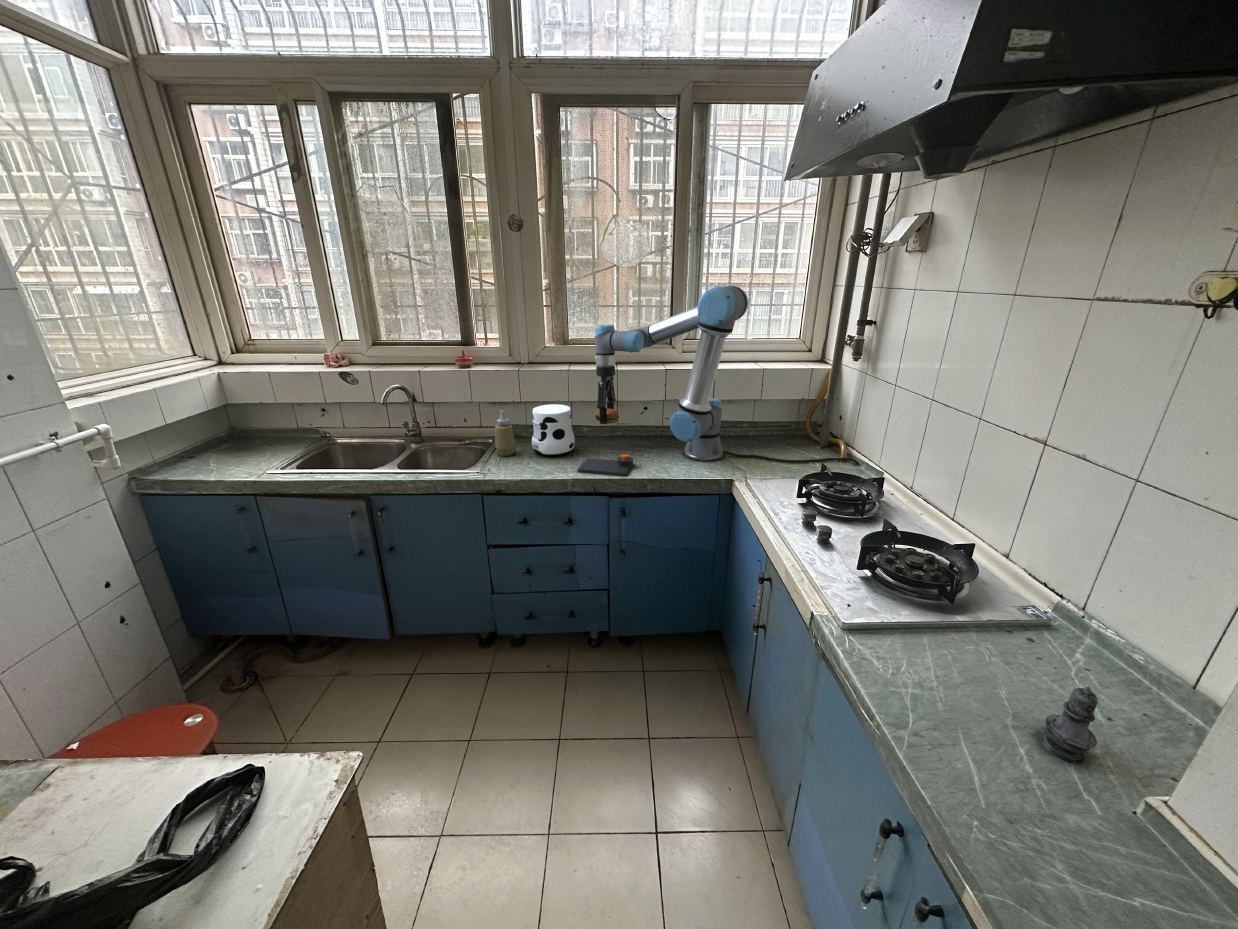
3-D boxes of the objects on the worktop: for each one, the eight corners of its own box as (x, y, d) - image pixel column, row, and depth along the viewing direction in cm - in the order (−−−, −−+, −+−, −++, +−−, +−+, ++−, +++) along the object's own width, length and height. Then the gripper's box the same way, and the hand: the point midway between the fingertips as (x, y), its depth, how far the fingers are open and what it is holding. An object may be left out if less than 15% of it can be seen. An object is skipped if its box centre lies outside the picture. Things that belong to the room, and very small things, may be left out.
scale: (634, 464, 190) (634, 456, 189) (626, 476, 179) (626, 468, 178) (588, 460, 194) (588, 453, 193) (578, 472, 183) (577, 464, 182)
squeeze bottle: (519, 454, 201) (515, 411, 195) (500, 458, 197) (496, 414, 190) (511, 449, 207) (507, 407, 201) (493, 453, 203) (488, 410, 197)
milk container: (579, 445, 211) (578, 404, 204) (568, 460, 195) (566, 415, 188) (540, 443, 214) (537, 403, 207) (526, 457, 198) (523, 413, 191)
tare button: (630, 458, 188) (630, 454, 187) (628, 461, 185) (628, 457, 185) (622, 458, 189) (622, 453, 188) (620, 460, 186) (620, 456, 185)
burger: (613, 416, 209) (613, 405, 207) (622, 422, 201) (622, 410, 200) (591, 419, 205) (591, 408, 204) (600, 425, 198) (599, 414, 196)
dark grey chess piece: (1047, 758, 74) (1072, 696, 70) (1032, 726, 79) (1055, 667, 75) (1096, 771, 72) (1126, 708, 68) (1078, 738, 77) (1104, 677, 73)
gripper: (604, 360, 206) (606, 412, 214) (587, 370, 186) (589, 427, 194) (622, 361, 204) (623, 413, 212) (606, 370, 184) (608, 428, 192)
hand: (607, 420), depth 203 cm, fingers closed on burger, 10 cm apart
